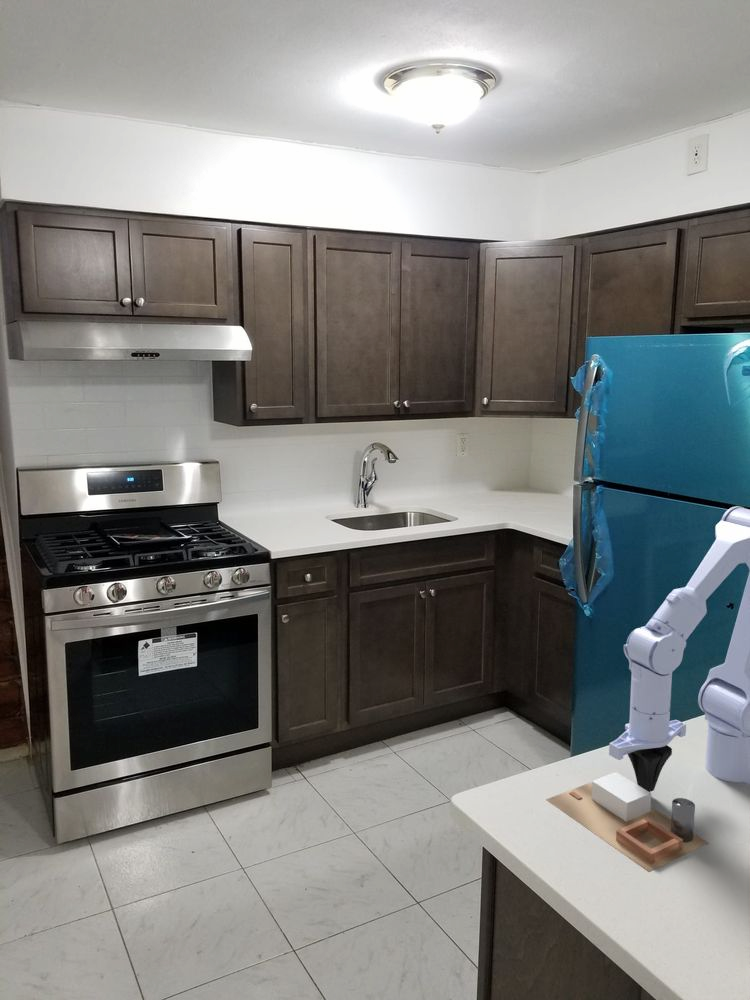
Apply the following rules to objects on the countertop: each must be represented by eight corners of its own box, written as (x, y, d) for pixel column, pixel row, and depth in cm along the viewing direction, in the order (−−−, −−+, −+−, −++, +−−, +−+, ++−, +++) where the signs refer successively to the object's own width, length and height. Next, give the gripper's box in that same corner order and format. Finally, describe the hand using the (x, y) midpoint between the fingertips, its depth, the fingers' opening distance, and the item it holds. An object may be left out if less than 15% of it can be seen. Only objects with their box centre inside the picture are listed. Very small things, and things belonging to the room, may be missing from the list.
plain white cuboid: (615, 789, 125) (615, 772, 124) (650, 811, 119) (651, 793, 118) (591, 798, 122) (592, 781, 122) (626, 821, 116) (627, 803, 116)
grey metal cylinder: (680, 827, 115) (682, 795, 114) (697, 838, 112) (699, 805, 111) (665, 833, 113) (667, 802, 112) (683, 845, 111) (685, 812, 110)
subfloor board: (602, 783, 128) (603, 769, 128) (708, 849, 111) (709, 832, 111) (545, 805, 122) (546, 790, 122) (648, 878, 105) (649, 861, 105)
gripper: (662, 686, 127) (657, 764, 130) (595, 707, 120) (592, 789, 123) (699, 702, 121) (694, 784, 124) (631, 726, 114) (627, 812, 117)
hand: (645, 788), depth 123 cm, fingers closed
